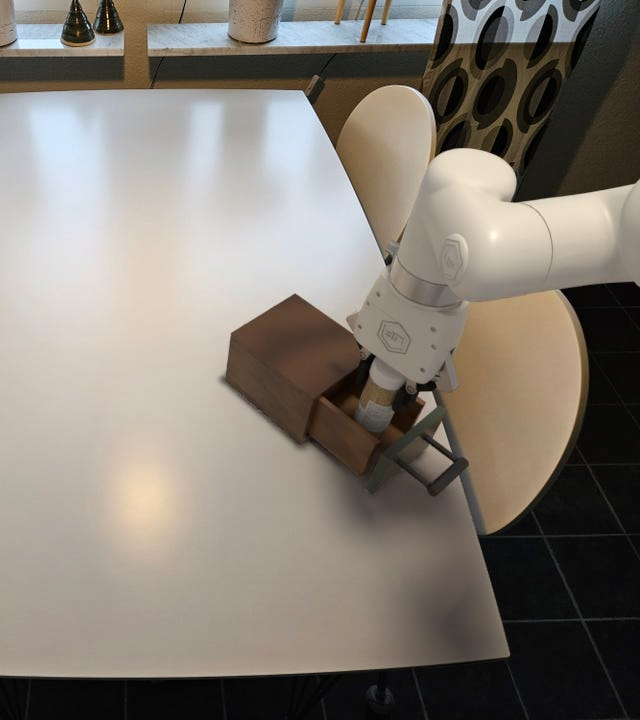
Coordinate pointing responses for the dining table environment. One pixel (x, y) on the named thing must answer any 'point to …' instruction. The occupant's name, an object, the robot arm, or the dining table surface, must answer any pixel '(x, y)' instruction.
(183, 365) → the dining table surface
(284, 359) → the cabinet
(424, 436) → the drawer
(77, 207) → the dining table surface
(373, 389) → the sprinkles bottle
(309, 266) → the dining table surface
